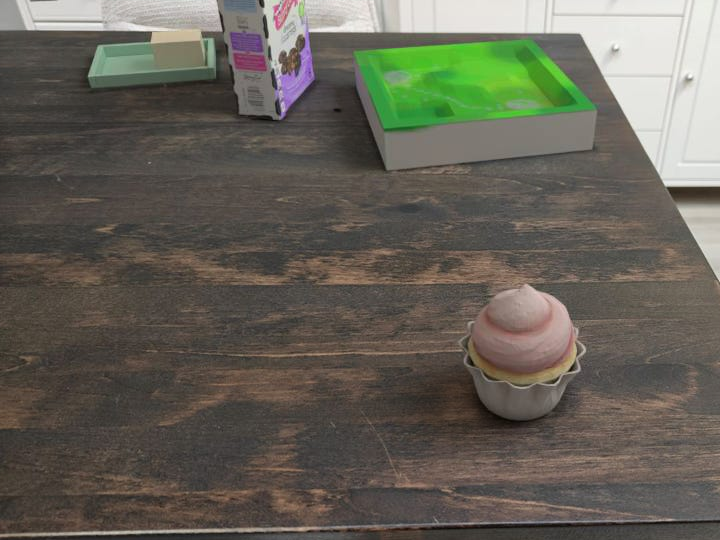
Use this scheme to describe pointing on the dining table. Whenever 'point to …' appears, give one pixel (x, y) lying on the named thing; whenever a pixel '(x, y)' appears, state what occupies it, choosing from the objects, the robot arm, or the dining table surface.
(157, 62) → the seated pad
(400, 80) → the tray
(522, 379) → the cupcake
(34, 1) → the loose pad
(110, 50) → the frame
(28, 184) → the dining table surface
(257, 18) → the candy box
